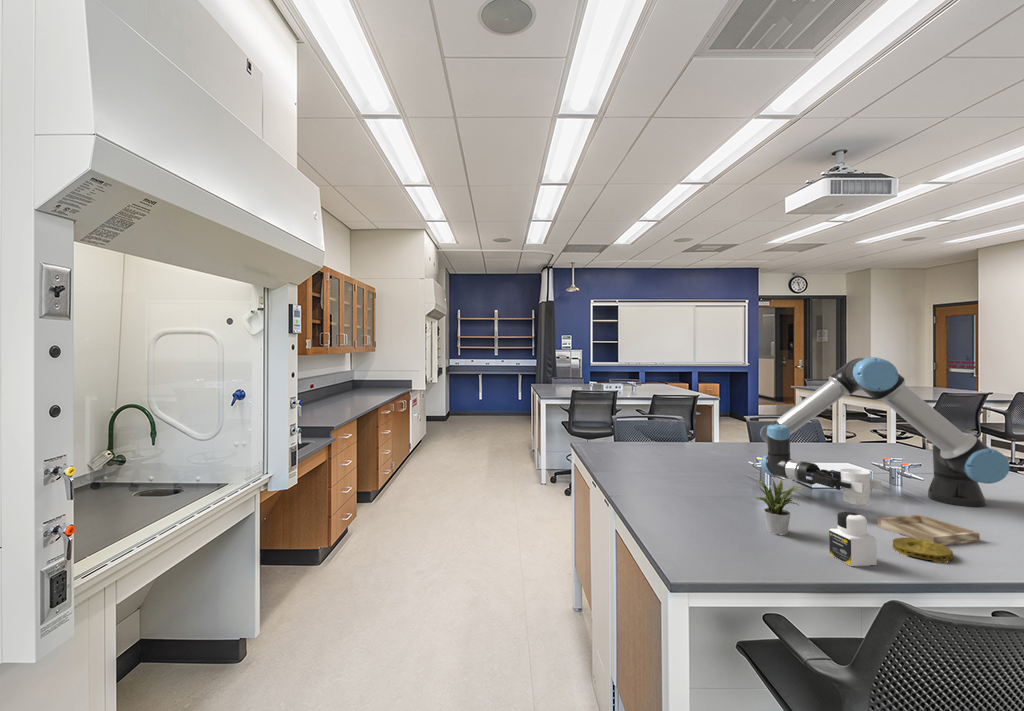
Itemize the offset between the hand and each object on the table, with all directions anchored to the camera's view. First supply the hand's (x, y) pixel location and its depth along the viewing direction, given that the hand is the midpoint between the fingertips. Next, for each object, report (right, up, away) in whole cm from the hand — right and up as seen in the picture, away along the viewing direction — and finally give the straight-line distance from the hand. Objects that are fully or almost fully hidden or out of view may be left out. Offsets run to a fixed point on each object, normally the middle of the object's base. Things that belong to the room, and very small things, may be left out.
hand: (871, 486), depth 146 cm
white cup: (-2, -6, +4) cm, 8 cm away
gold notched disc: (-4, -12, -23) cm, 26 cm away
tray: (+9, -11, -9) cm, 17 cm away
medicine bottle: (-26, -12, -27) cm, 39 cm away
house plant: (-34, -12, -8) cm, 37 cm away
